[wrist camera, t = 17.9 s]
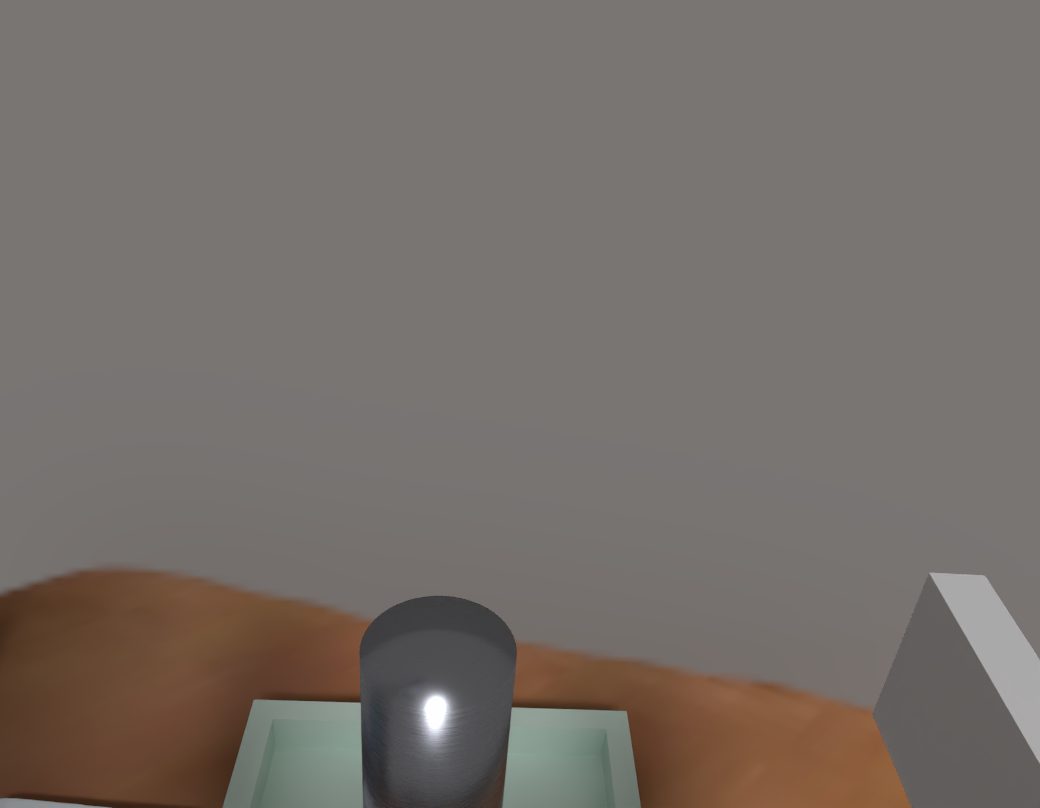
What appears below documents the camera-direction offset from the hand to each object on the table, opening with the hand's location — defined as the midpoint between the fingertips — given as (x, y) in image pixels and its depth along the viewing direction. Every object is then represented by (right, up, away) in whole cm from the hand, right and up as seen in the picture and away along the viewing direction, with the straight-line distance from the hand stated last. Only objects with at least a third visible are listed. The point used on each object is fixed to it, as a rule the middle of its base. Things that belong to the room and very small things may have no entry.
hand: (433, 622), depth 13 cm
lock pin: (-2, -16, +21) cm, 26 cm away
